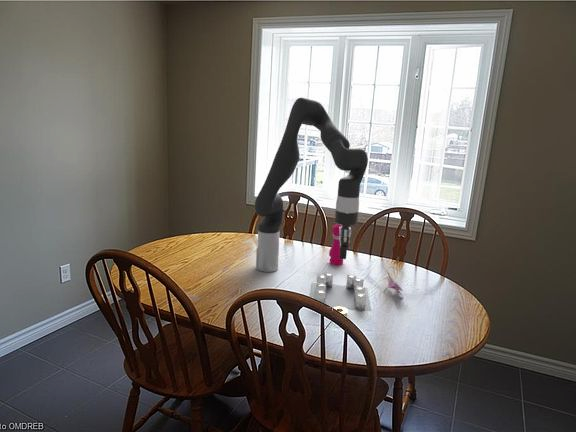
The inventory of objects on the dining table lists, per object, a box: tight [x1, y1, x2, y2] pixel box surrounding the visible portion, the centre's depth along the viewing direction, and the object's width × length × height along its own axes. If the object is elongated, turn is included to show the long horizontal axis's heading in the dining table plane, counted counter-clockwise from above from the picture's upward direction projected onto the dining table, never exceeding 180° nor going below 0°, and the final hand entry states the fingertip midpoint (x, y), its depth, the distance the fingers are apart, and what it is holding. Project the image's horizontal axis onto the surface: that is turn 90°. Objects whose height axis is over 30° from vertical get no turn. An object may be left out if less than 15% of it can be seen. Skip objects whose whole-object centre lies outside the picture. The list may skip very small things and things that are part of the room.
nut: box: [334, 307, 348, 317], centre depth 136 cm, size 5×5×2 cm
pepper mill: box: [328, 223, 344, 266], centre depth 187 cm, size 7×7×20 cm
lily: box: [382, 267, 403, 297], centre depth 157 cm, size 12×12×10 cm
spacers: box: [315, 272, 366, 312], centre depth 151 cm, size 18×21×5 cm
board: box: [305, 282, 372, 332], centre depth 146 cm, size 22×32×1 cm
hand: (342, 258), depth 140 cm, fingers closed
